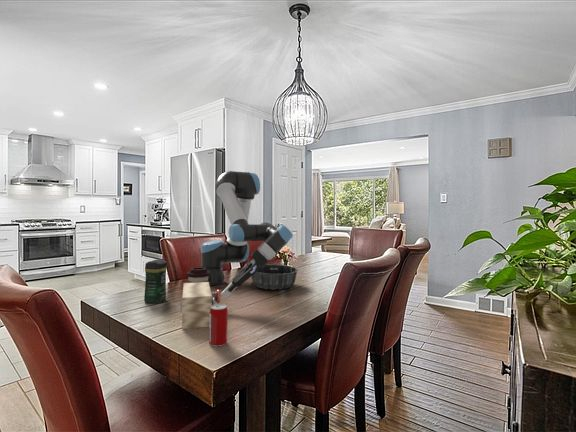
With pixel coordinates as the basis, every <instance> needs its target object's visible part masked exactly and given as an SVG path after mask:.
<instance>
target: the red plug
mask: <svg viewBox="0 0 576 432" xmlns="http://www.w3.org/2000/svg"><path fill="white" fill-rule="evenodd" d="M211 294H212V297H215V302H216V304H221V289H216V291H211Z"/></svg>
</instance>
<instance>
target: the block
mask: <svg viewBox="0 0 576 432" xmlns="http://www.w3.org/2000/svg"><path fill="white" fill-rule="evenodd" d="M211 292H212V291H211V285H209V282H197V283H188V282H183V288H182V301H181V302H182V313H181V315H182V316H181V329H182V330H185V329H186V330H187V329H198V328H209V319H210V309H211V306H212V294H211Z"/></svg>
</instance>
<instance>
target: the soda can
mask: <svg viewBox="0 0 576 432" xmlns="http://www.w3.org/2000/svg"><path fill="white" fill-rule="evenodd" d="M228 312H229V311H228V307H227V305H226V304H225V303H220V304H217V303H216V304H215V305H212V306H211V309H210V319H209V327H208V329H209V333H208V336H209V337H208V343H209V345H210V346H212V347H214V348H215V347H216V348H217V347H218V346H219V347H223V346H225V344H227V342H228Z"/></svg>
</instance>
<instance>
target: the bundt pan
mask: <svg viewBox="0 0 576 432" xmlns="http://www.w3.org/2000/svg"><path fill="white" fill-rule="evenodd" d="M298 272H299V269H298V268H297V267H294V266H292V265H285V264H269V263H267V264H266V265H265V266H264V267H261V266H260V265H259V266H258V268H257V270H256V273H255V274H253V275H252V276H251V280H252V284H253V285H254V286H255V287H257V288H259V289H265V290H266V291H267V289H268V290H271V291H275V290H278V291H281V290H287V289H290V288H292V287H293V286H294V284H295V282H296V279H297V274H298Z"/></svg>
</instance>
